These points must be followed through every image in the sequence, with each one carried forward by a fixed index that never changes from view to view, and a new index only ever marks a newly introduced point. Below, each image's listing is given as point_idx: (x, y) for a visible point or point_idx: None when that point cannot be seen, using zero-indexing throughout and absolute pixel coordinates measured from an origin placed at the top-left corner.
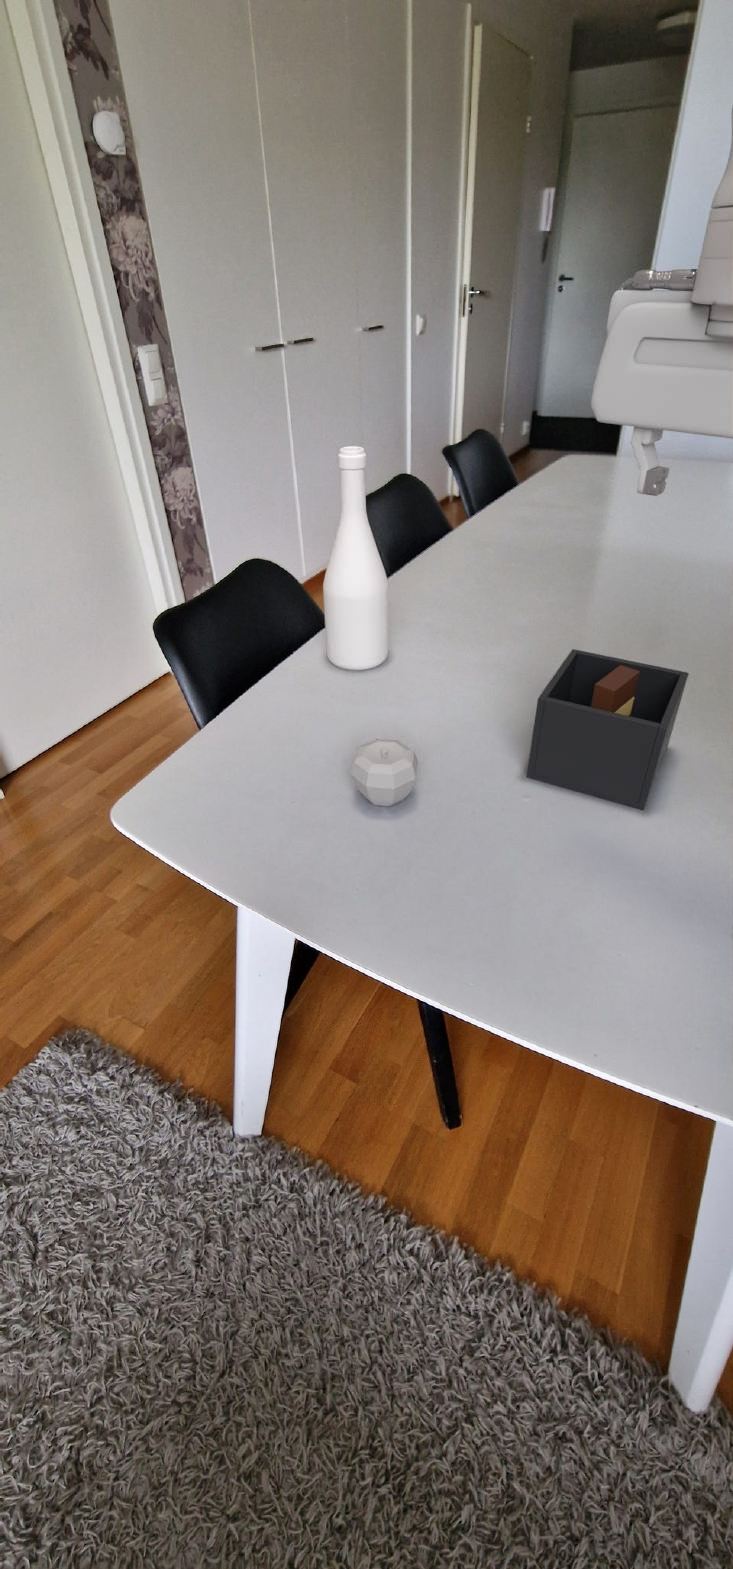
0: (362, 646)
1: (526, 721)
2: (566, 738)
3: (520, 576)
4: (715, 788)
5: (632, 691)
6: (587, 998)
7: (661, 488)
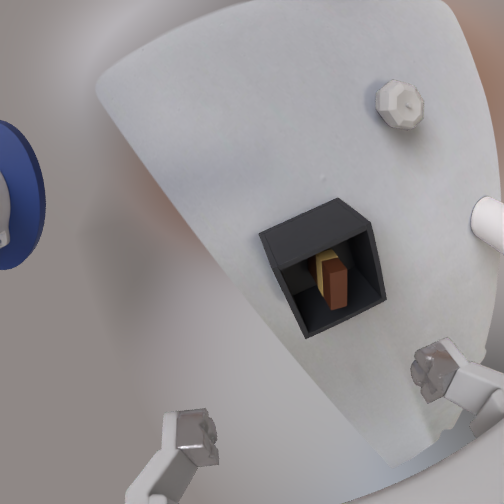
0: (486, 212)
1: None
2: (332, 222)
3: None
4: (242, 289)
5: (325, 296)
6: (169, 70)
7: (416, 370)
